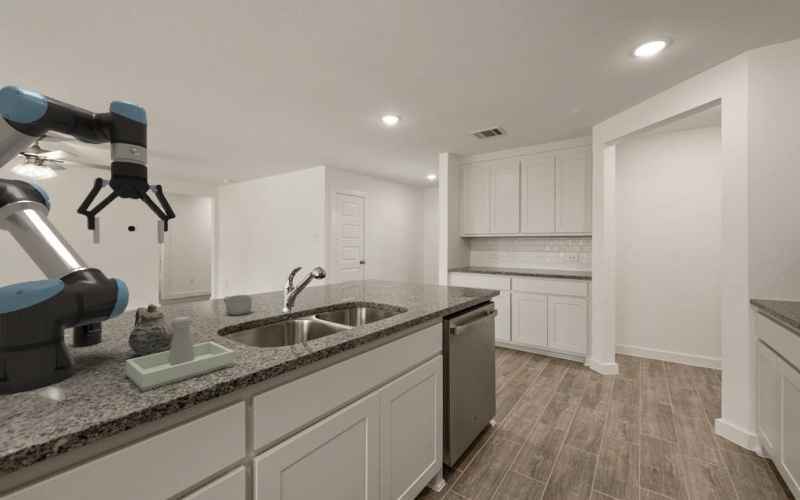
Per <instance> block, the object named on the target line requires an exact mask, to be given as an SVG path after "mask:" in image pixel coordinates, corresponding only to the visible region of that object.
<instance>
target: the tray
mask: <svg viewBox="0 0 800 500" xmlns="http://www.w3.org/2000/svg"><path fill="white" fill-rule="evenodd" d="M192 346H193V350H194V354H195V358H194V360H193V361H189V362H185V363H181V364H177V365H173V366H171V365H170V364H169V361H168V357H169V352H170V350H169V351H165V352H160V353H156V354H151V355H147V356H140V357H139V356H138V357H134V358H129V359H126V360H125V377H127V378H128V379H129V380H130V381H132V383H133V384H135V386H137V388H138V389H140V391H142V392H146V390H147V391H150V390H153V389H152V388H154V389H157V388H160V387H159V386H161V387H164V386H167V385H166V384H168V385H171V384H174V383H173V382H175V383H177V381H178V382H182V381H184V379H185V380H189V379H191V377H192V378H195V377H199V376H201V375H206V374H209V373H212V371H213V372H216V371H219V370H222V368H223V369H225V368H226V369H227V368H229V367H230V368H231V367H233V366H235V351H234V350H233V349H230V348H228V347H225V346H223V345H220V344H218V343H217V342H214V341H212V340H211V341H206V342H202V343H197V344H192ZM215 370H216V371H215ZM205 373H206V374H205ZM198 375H199V376H198ZM194 376H195V377H194ZM170 383H171V384H170ZM163 385H164V386H163ZM156 387H157V388H156ZM149 389H150V390H149Z"/></svg>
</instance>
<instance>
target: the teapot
mask: <svg viewBox="0 0 800 500" xmlns="http://www.w3.org/2000/svg"><path fill="white" fill-rule="evenodd" d="M157 308H158V306H157V305H155V304H153V303H150V304H148V305H147V308H145V307H142V306H141V307H138V308H137V309H136V312H135V318H134V328H133V329H132V331H131V332H130V335H129V337H128V338H129V339H128V345H129V348H130V349H131V350H132V351H134V352H135V353H136V354H137V355H138V356H140V357H142V356H147V355H151V354H156V353H160V352H165V351H169V350H170V347H171V342H172V337H173V332H174V328H173V327H172V324H171V322H172V320H166V319H165V318H164V317H165V314H164V312H163V311H162V310H158V309H157Z"/></svg>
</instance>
